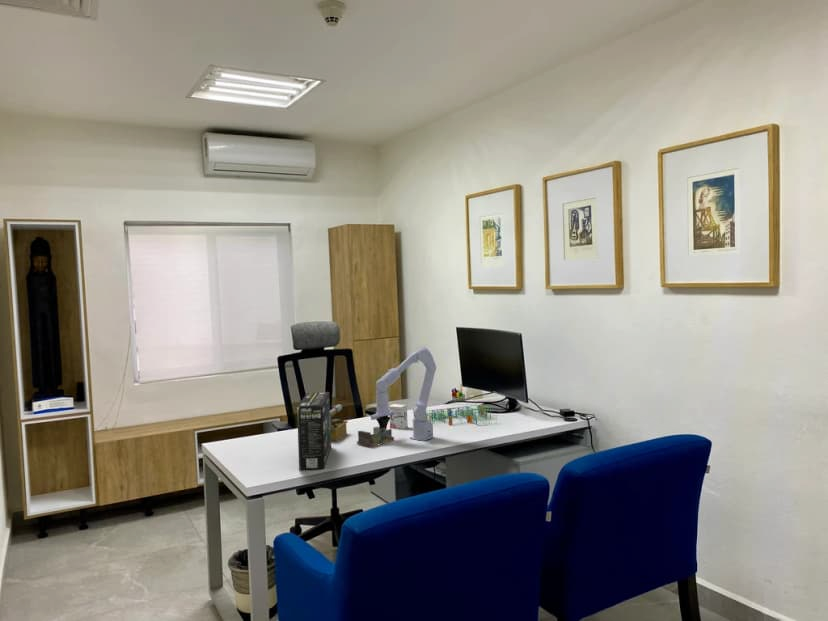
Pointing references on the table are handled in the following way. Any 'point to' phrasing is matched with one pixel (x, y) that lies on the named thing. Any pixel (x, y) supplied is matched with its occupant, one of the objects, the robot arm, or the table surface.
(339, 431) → the geiger counter
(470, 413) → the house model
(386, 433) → the stone ruin model
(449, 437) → the table surface
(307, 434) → the router box
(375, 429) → the gauge slider
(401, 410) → the ink box
